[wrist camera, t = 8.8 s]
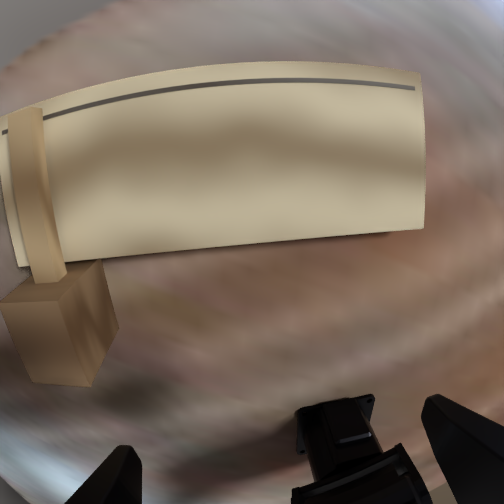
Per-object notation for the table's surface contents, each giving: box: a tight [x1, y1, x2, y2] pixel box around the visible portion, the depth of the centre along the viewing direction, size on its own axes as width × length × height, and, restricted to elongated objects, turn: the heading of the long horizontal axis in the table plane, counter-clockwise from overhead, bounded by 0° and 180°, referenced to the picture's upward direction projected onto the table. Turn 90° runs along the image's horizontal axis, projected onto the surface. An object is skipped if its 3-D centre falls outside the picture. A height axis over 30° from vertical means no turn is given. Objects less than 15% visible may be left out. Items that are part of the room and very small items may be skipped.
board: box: [0, 61, 426, 267], centre depth 16 cm, size 9×24×2 cm, turn 94°
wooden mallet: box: [0, 107, 119, 387], centre depth 14 cm, size 14×4×6 cm, turn 4°
